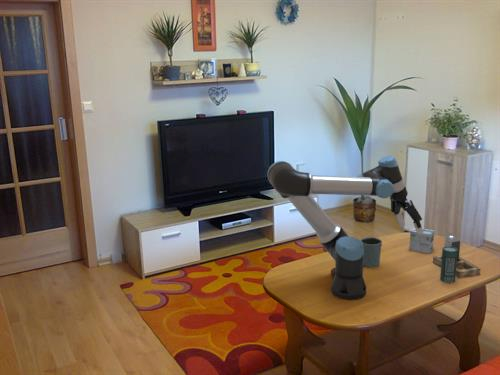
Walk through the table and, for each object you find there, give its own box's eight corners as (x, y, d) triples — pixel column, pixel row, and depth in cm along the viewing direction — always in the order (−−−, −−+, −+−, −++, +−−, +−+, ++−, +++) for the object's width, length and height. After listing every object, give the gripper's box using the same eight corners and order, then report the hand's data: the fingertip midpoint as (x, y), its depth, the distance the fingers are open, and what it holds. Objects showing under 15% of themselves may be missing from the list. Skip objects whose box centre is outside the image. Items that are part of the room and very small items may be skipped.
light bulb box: (433, 249, 265) (434, 230, 262) (430, 254, 259) (431, 234, 257) (412, 246, 270) (413, 226, 268) (408, 250, 265) (410, 230, 262)
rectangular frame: (459, 278, 232) (459, 272, 231) (432, 262, 249) (433, 256, 249) (480, 274, 235) (480, 268, 234) (452, 259, 253) (453, 253, 252)
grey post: (449, 268, 242) (451, 238, 238) (440, 263, 248) (442, 234, 244) (459, 266, 244) (462, 237, 240) (450, 261, 250) (453, 232, 246)
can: (453, 277, 233) (456, 246, 229) (455, 283, 227) (458, 251, 223) (439, 276, 234) (441, 246, 230) (441, 282, 229) (443, 251, 225)
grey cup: (360, 267, 246) (360, 244, 243) (359, 259, 256) (360, 236, 253) (381, 268, 245) (382, 245, 241) (380, 260, 254) (381, 237, 251)
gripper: (421, 190, 217) (435, 232, 223) (388, 180, 240) (401, 219, 246) (406, 198, 215) (421, 240, 222) (375, 187, 239) (389, 226, 245)
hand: (411, 229), depth 234 cm, fingers open, 13 cm apart
